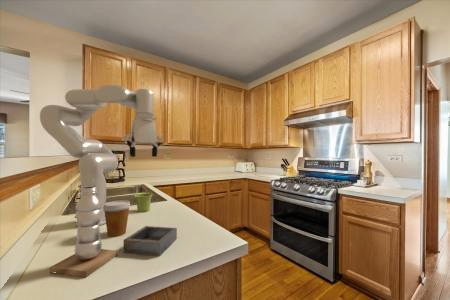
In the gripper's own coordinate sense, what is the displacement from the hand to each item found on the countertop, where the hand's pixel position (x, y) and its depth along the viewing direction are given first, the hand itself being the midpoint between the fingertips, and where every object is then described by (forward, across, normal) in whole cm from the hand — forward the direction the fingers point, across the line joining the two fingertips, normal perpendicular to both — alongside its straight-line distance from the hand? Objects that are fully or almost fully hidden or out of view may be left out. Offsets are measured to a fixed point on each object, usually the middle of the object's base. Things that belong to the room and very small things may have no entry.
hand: (144, 156), depth 87 cm
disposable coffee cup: (+30, +11, +1) cm, 32 cm away
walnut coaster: (+30, +25, +18) cm, 43 cm away
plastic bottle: (+29, +24, +17) cm, 41 cm away
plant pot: (+30, -11, -22) cm, 39 cm away
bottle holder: (+30, +7, +21) cm, 37 cm away
